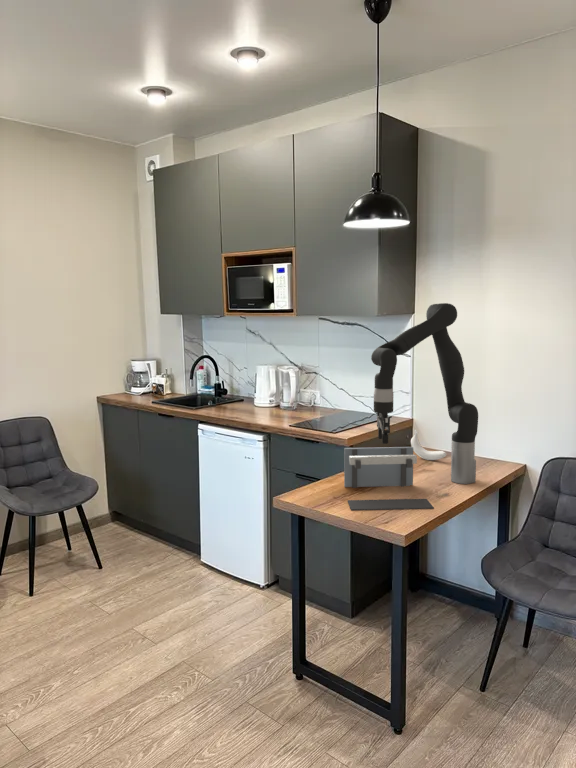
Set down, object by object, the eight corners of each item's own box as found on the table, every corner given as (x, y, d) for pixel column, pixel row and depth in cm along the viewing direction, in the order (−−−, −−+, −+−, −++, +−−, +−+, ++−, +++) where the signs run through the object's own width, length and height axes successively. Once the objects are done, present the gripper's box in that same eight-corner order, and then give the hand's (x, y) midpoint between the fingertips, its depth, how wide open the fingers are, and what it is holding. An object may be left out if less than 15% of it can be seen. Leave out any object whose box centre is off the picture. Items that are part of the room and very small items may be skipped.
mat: (426, 499, 217) (426, 498, 217) (433, 508, 207) (433, 507, 207) (347, 501, 216) (347, 500, 216) (350, 510, 207) (350, 509, 206)
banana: (444, 464, 267) (445, 433, 265) (408, 458, 279) (408, 428, 277) (449, 462, 270) (450, 431, 269) (413, 456, 283) (413, 426, 281)
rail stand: (412, 484, 236) (412, 446, 234) (419, 494, 223) (420, 454, 221) (344, 486, 235) (344, 448, 233) (348, 495, 223) (348, 455, 221)
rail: (415, 462, 226) (415, 454, 225) (416, 463, 223) (416, 456, 223) (349, 463, 225) (349, 455, 225) (350, 464, 223) (350, 457, 222)
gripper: (397, 402, 214) (396, 445, 216) (389, 397, 228) (389, 437, 230) (377, 402, 214) (376, 445, 216) (370, 397, 228) (370, 437, 230)
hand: (383, 441), depth 223 cm, fingers open, 8 cm apart
